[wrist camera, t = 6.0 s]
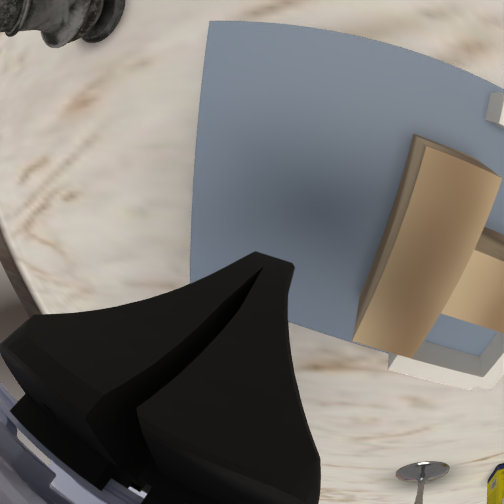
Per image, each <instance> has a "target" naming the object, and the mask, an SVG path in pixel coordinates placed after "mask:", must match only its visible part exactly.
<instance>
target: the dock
mask: <svg viewBox="0 0 504 504" xmlns="http://www.w3.org/2000/svg"><path fill="white" fill-rule="evenodd" d="M485 120H487V121H489V122H491V123H494V124H496V125H498V126H499V127H501V128H503V129H504V93H496V92H491V93H490V98H489V103H488V108H487V113H486V117H485ZM388 370H390V371H394V372H398V373H401V374H405V375H409V376H412V377H416V378H420V379H424V380H428V381H432V382H436V383H440V384H444V385H448V386H452V387H457V388H461V389H465V390H470V391H471V390H472V389H473V388H474V387H480V388H484V389H489V390H490V389H491V388H492V387H493V386H494V385H495V384H496V383H497V381H498V380H499V379H500V378H501V377H502V376H503V375H504V333H501V332H497V334H496V335H495V336H494V338H493V339H492V341H491V342H490V343H489V345H488V346H487V347H486V349H485V350H484V351H483V353H482V354H481V355H480V356H475V355H472V354H468V353H464V352H461V351H457V350H454V349H450V348H447V347H443V346H440V345H436V344H433V343H430V342H426V341H423V343H422V344H421V346H420V347H419V349H418V350H417V352H416V353H415V355H414V356H413V357H412V359H411V358H407V357H404V356H400V355H397V354H393V353H390V352H389V359H388Z"/></svg>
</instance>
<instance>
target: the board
mask: <svg viewBox="0 0 504 504" xmlns="http://www.w3.org/2000/svg"><path fill="white" fill-rule="evenodd" d="M491 92H496V93H504V89H502V88H500V87H498V86H496V85H494V84H492V83H490V82H488V81H486V80H484V79H482V78H480V77H478V76H476V75H473V74H471V73H469V72H467V71H464V70H462V69H460V68H457V67H455V66H452V65H450V64H447V63H445V62H442V61H440V60H437V59H434V58H431V57H429V56H426V55H423V54H420V53H417V52H414V51H411V50H408V49H404V48H401V47H398V46H394V45H391V44H387V43H384V42H380V41H376V40H372V39H368V38H364V37H359V36H355V35H350V34H345V33H340V32H335V31H329V30H323V29H317V28H310V27H303V26H295V25H286V24H276V23H263V22H245V21H210V22H209V29H208V36H207V43H206V51H205V59H204V67H203V76H202V85H201V94H200V104H199V115H198V126H197V138H196V151H195V165H194V181H193V199H192V221H191V250H190V283H193V282H195V281H197V280H200V279H202V278H204V277H206V276H208V275H210V274H212V273H214V272H216V271H218V270H220V269H222V268H224V267H226V266H228V265H230V264H232V263H234V262H235V261H237V260H239V259H241V258H243V257H245V256H247V255H249V254H251V253H252V252H254V251H257V252H260V253H263V254H266V255H269V256H272V257H275V258H279V259H282V260H285V261H288V262H291V263H293V265H294V266H295V270H294V274H293V278H292V281H291V285H290V289H289V293H288V322H291V323H294V324H297V325H300V326H303V327H306V328H309V329H312V330H315V331H318V332H321V333H324V334H327V335H330V336H333V337H336V338H339V339H342V340H346V341H349V342H352V343H355V344H358V345H362V346H365V347H368V348H372V349H375V350H378V351H382V352H385V353H388V354H389V352H387V351H383V350H380V349H376V348H373V347H370V346H366V345H363V344H360V343H357V342H353V341H352V338H353V333H354V327H355V321H356V315H357V309H358V303H359V296H360V294H361V291H362V289H363V286H364V284H365V281H366V279H367V276H368V274H369V271H370V269H371V266H372V264H373V261H374V258H375V256H376V253H377V250H378V248H379V245H380V242H381V239H382V236H383V234H384V231H385V228H386V225H387V222H388V219H389V216H390V213H391V210H392V207H393V204H394V201H395V198H396V194H397V191H398V188H399V185H400V181H401V178H402V174H403V171H404V168H405V164H406V160H407V157H408V153H409V149H410V145H411V142H412V138H413V134H416V135H419V136H422V137H424V138H427V139H430V140H432V141H435V142H438V143H440V144H443V145H445V146H448V147H451V148H453V149H455V150H458V151H460V152H463V153H465V154H467V155H470V156H472V157H474V158H476V159H477V160H479V161H480V162H481V163H483V164H484V165H485V166H487V167H488V168H490V169H491V170H492V171H494V172H495V173H496V174H497V175H499V176H500V177H501V178H502V181H501V184H500V187H499V190H498V193H497V195H496V198H495V201H494V203H493V206H492V209H491V211H490V214H489V216H488V219H487V221H486V224H485V226H484V227H487V228H489V229H491V230H494V231H496V232H498V233H500V234H503V235H504V129H503V128H501V127H499V126H498V125H496V124H494V123H491V122H489V121H487V120H485V117H486V113H487V108H488V103H489V98H490V93H491ZM497 332H498V331H495V330H492V329H488V328H485V327H482V326H479V325H476V324H473V323H470V322H466V321H463V320H460V319H457V318H454V317H451V316H448V315H444V314H440V315H439V317H438V319H437V320H436V322H435V324H434V325H433V327H432V329H431V330H430V332H429V333H428V335H427V336H426V338H425V340H424V341H426V342H430V343H433V344H436V345H440V346H443V347H447V348H450V349H454V350H457V351H461V352H464V353H468V354H472V355H475V356H480V355H481V354H482V353H483V351H484V350H485V349H486V347H487V346H488V345H489V343H490V342H491V341H492V339H493V338H494V336H495V335H496V334H497Z"/></svg>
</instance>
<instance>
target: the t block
mask: <svg viewBox="0 0 504 504" xmlns="http://www.w3.org/2000/svg"><path fill="white" fill-rule="evenodd" d="M501 181H502V178H501V177H500V176H499V175H497V174H496V173H495V172H494V171H492V170H491V169H490V168H488V167H487V166H485V165H484V164H483V163H481V162H480V161H479V160H477V159H476V158H474V157H472V156H470V155H467V154H465V153H463V152H460V151H458V150H455V149H453V148H451V147H448V146H445V145H443V144H440V143H438V142H435V141H432V140H430V139H427V138H424V137H422V136H419V135H416V134H413V138H412V142H411V145H410V149H409V153H408V157H407V160H406V164H405V168H404V171H403V174H402V178H401V181H400V185H399V188H398V191H397V194H396V198H395V201H394V204H393V207H392V210H391V213H390V216H389V219H388V222H387V225H386V228H385V231H384V234H383V236H382V239H381V242H380V245H379V248H378V250H377V253H376V256H375V258H374V261H373V264H372V266H371V269H370V271H369V274H368V276H367V279H366V281H365V284H364V286H363V289H362V291H361V294H360V296H359V303H358V309H357V315H356V321H355V327H354V333H353V338H352V341H353V342H357V343H360V344H363V345H366V346H370V347H373V348H376V349H380V350H383V351H387V352H390V353H393V354H397V355H400V356H404V357H407V358H411V359H412V357H413V356H414V355H415V353H416V352H417V350H418V349H419V347H420V346H421V344H422V343H423V341H424V340H425V338H426V336H427V335H428V333H429V332H430V330H431V329H432V327H433V325H434V324H435V322H436V320H437V319H438V317H439V315H440V314H444V315H448V316H451V317H454V318H457V319H460V320H463V321H466V322H470V323H473V324H476V325H479V326H482V327H485V328H488V329H492V330H495V331H498V332H501V333H504V235H503V234H500V233H498V232H496V231H494V230H491V229H489V228H487V227H484V226H485V224H486V221H487V219H488V216H489V214H490V211H491V209H492V206H493V203H494V201H495V198H496V195H497V193H498V190H499V187H500V184H501Z"/></svg>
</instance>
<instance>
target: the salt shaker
mask: <svg viewBox="0 0 504 504" xmlns="http://www.w3.org/2000/svg"><path fill="white" fill-rule="evenodd" d="M124 5H125V0H0V32H5V34H6V35H7V36H8V37H11V36H14V35H15V34H17V32H18V31H26V30H39V31H41V35H42V38H43V40H44V42H45V43H46V45H48V46H49V47H51V48H59V47H62V46H64V45H66V44H67V43H70V42H72V41H75V40H77V39H79V38H82V39H83V40H85V41H87V42H91V43H95V42H99V41H101V40H103V39H104V38H106V37H107V36H108V35H109V34H110V33H111V32H112V31H113V30H114V29H115V27H116V26H117V24H118V22H119V20H120V18H121V16H122V13H123V10H124Z"/></svg>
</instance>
